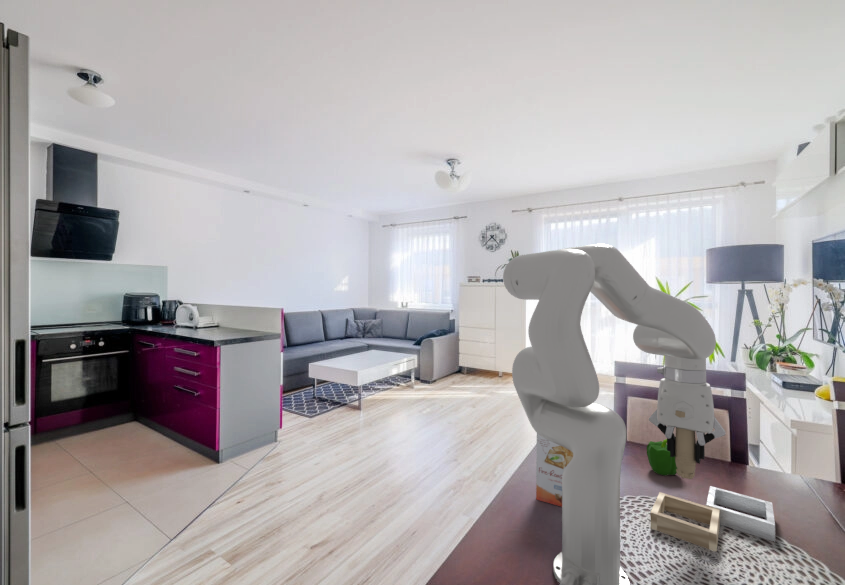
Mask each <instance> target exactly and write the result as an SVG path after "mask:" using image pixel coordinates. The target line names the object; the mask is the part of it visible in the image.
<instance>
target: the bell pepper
mask: <svg viewBox="0 0 845 585" xmlns="http://www.w3.org/2000/svg"><path fill="white" fill-rule="evenodd" d="M646 455H647V460H648V463H649V466H650V467H651V469H652V471H653V472H654V473H656V474H657V475H661V476H664V477H665V476H669V475H670V476H675V475H676V474H677V471H676V469H678V468H677V467H676V462H675V456H674V457H670V451H667V438H666V439H664V440H660V441H653V440H652V441H649V442H648V444H647V445H646Z"/></svg>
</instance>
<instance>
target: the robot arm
mask: <svg viewBox="0 0 845 585" xmlns="http://www.w3.org/2000/svg"><path fill="white" fill-rule="evenodd" d="M502 280H503V285H504V287H505V289H506V290H507V292H508V293H509V294H510V295H511V296H513V297H514V298H517V299H519V300H523V301H524V300H526V301H527V300H529V301H530V300H531V301H532V300H533V301H534V300H536V301H537V300H538V302H537V305H536V306H535V308H534V311H533V313H532V316H531V318H530V319H529V320H530V321H529V325H528V338H529V342H530V346H528V347H526V348H525V347H524V348H523V349H521V350H520V351H519V352H518V353H517V354H516V356H515V358H514V360H513V362H512V363H513V364H512V368H511V376H512V382H513V383H512V384H513V386H514V388H515V391H516V394H517V395H518V398H519V400H520V403H521V406H522V407H523V410H524V412H525V415H526V417H527V419H528V421H529V423H530V425H531V427H532V429H533V430H534V431H535V433H536V435H537V434H539V435H540V436H541V437H543V438H545V439H547V440H549V441H551V442H553V443H556V444H558V445H560V446H562V447H564V448H566V449H568V450H570V451H572V452H573V458H572V460H571V461H570V462H569V463H568V465H567V466H566V467H565V469H564V471H563V475H562V507H561V512H562V514H561V522H562V523H561V524H562V525H561V539H562V540H561V551H560V552H559V553H558V554H557V555H556V556H555V558H553V562H552V563H553V565H552V566H553V568H552V569H553V570H552V571H553V575H554V578H555V580H556V579H557V580H556V581H557V583H558V582H559V583H560V584H559V583H558V585H631V582H630V579H629V577H628V575H627V574H626V572H624V570H623V569H622V568H621V474H622V473H621V472H622V471H621V470H622V462H623V457H624V453H625V447H626V444H627V443H626V442H627V437H628V436H627V435H628V434H627V426H626V424H625V421H624V419H623V418H622V417H621V415H619V414H618V413H617V412H616V411H615V410H613V409H612V408H609V407H607V406H605V405H603V404H600V403H598V402H596V400H598V397H599V393H600V382H599V378H598V375H597V371H596V369H595V366H594V362H593V360H592V358H591V355H590V352H589V350H588V347H587V343H586V342H585V339H584V334H583V331H582V326H581V322H582V315H583V310H584V308H585V305H586V301H587V299H588V297H589V295H590V293H591V294H592V295H593V296H594V297H595V298H596V299H597V300H598V301H599V302H600V303H601V304H602V306H604V307H605V308H606V309H607V310H608V311H609V312H610V314H611V315H612V316H615V317H616V318H617V319H620V320H622V321H625V322H628V323H631V324H633V325H636V326H635V328H634V329H633V334H632V340H633V343H634V344H635V346H636V347H637V348H638V349H639V350H640V351H642V352H643V353H646V354H650V355H651V354H652V355H656V356H664V365H663V367H662V366H661V367H657V370H656V371H657V374H661V375H662V376H663V377H664V378H661V379H660V382H659V385H658V391H657V403H656V407H657V408H656V410H655V411H654V412H653V413H652V414H651V416H649V418H648V421H649V423H652V425H654V426H656V427H657V429H658V430H660V431H661V433H662V434H664V436H665V438H666V439H667V443H666V444H667V451H670V457H674V456H675V436H676V435H675V433H674V431H675V429H676V428H681V429H686V430H691V431H695V435H696V437H697V440H696V445H695V454H696V464H700V463H701V460H705V457H706V456H705V450H706V449H705V445H706V444H708V443H709V442H711V441H713V440H715V439H718V438H721V437H722V438H723V437H724V436H726V434H727V433H726V432H727V431H726V430H725V429H724V428H723V426H722V424H721V423H720V422H719V421H718V419H717V418H716V416H715V409H714V408H715V405H714V398H713V392H712V388H711V384H710V383H708V382H707V358H709V357H711V355H712V354H713V353H714V351H715V349H716V345H717V339H716V338H717V337H716V334H715V332H714V329H713V328H712V326H711V325H710V323H709V322H708V320H707V319H706V318H705V316H704V315H703V314H702V313H701V311H700V310H698V309H697V308H696V307H695V306H693V305H692V304H690V303H689V302H687V301H684V300H682V299H680V298H678V297H675V296H673V295H671V294H669V293H666V292H664V291H662V290H659V289H657V288H654V287H652V286H650V285H649V284H648V282H647V281H646V280H645V278H644V277H642V275H640V273H639V272H638V271H637V269H635V267H634V266H633V265H632V264H631V262H629V260H628V259H627V258H626V257H625V256H624V255H623V254H622V253H621V252H620V250H619V249H618V248H616V247H614V246H613V245H610V244H606V243H595V244H594V243H593V244H587V245H580V246H573V247H564V248H561V249H555V250H548V251H543V252H542V251H540V252H535V253H534V252H533V253H526V254H520V255H517V256H514V257H513V258H512V259H510V260H509V261H508V262H507V264H506V265H505V267H504V269H503V275H502ZM676 410H677V411H682V412H685V417H684V418H683V417H681V418H680V417H678V416H676V415H675V414H676Z"/></svg>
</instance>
